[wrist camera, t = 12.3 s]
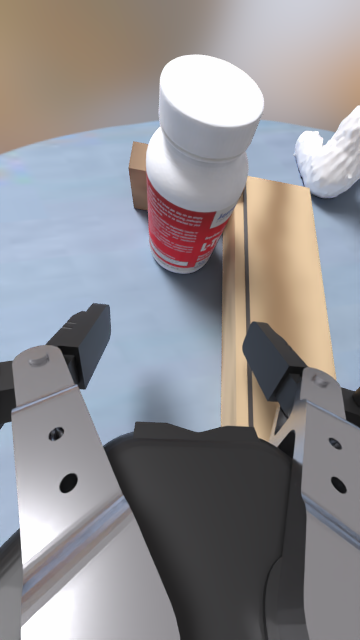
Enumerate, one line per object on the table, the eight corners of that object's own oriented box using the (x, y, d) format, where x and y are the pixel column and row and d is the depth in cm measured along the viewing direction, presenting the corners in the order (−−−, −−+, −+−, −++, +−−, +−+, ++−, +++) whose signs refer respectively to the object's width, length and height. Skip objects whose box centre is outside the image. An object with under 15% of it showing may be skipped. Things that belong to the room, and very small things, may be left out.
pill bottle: (198, 285, 18) (262, 164, 7) (139, 260, 18) (114, 98, 7) (217, 236, 19) (293, 78, 9) (164, 213, 19) (174, 23, 9)
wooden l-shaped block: (288, 211, 21) (317, 178, 18) (311, 443, 16) (363, 469, 12) (137, 185, 20) (133, 141, 16) (97, 437, 14) (74, 466, 10)
